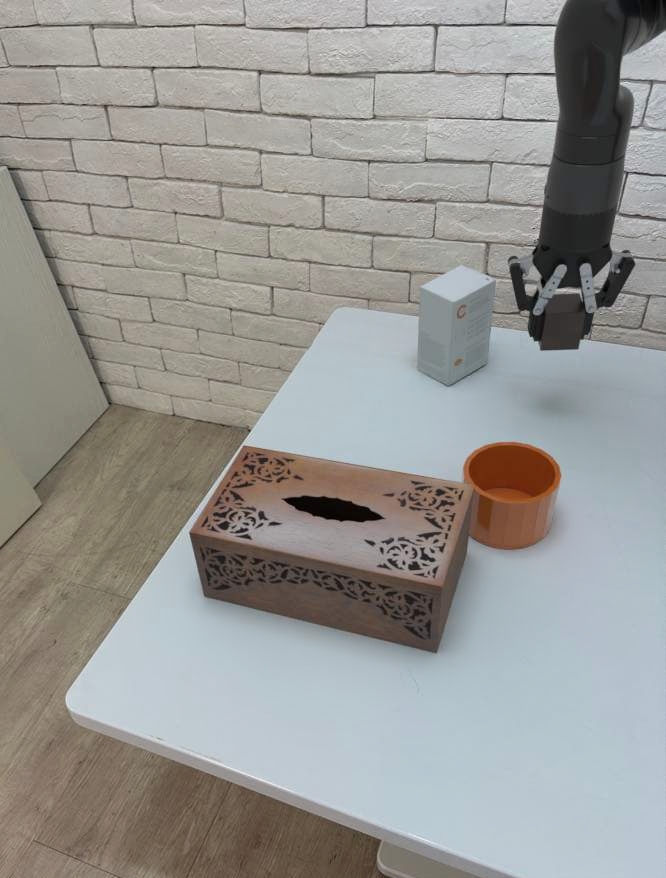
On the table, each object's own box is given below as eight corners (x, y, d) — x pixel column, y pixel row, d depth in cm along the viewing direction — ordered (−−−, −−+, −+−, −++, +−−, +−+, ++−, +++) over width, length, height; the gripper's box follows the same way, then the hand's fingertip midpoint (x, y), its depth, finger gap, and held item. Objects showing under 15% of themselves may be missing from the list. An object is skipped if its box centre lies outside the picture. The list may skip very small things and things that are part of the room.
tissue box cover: (204, 596, 88) (189, 532, 81) (253, 509, 97) (243, 445, 90) (436, 653, 80) (442, 587, 73) (466, 552, 89) (474, 485, 82)
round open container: (544, 487, 95) (553, 440, 90) (557, 549, 88) (568, 502, 83) (456, 488, 96) (460, 442, 91) (462, 549, 89) (467, 503, 84)
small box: (455, 347, 117) (461, 263, 108) (488, 364, 114) (498, 278, 104) (415, 369, 114) (418, 285, 105) (448, 387, 111) (454, 301, 101)
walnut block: (572, 330, 99) (579, 292, 95) (578, 349, 96) (585, 312, 92) (535, 331, 99) (541, 294, 96) (540, 351, 96) (546, 313, 93)
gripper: (515, 215, 84) (499, 356, 96) (661, 206, 82) (625, 352, 94) (508, 186, 89) (493, 323, 101) (644, 177, 87) (613, 318, 99)
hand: (557, 336), depth 97 cm, fingers closed on walnut block, 4 cm apart
